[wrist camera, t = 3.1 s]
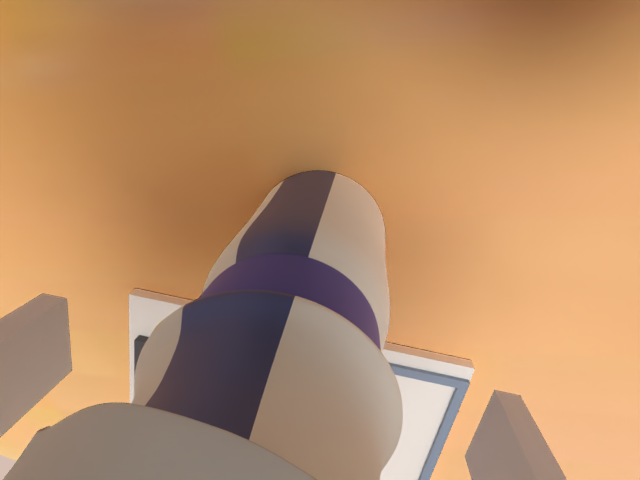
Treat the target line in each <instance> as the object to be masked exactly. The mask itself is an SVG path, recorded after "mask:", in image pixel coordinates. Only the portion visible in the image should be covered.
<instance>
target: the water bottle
mask: <svg viewBox="0 0 640 480" xmlns="http://www.w3.org/2000/svg"><path fill="white" fill-rule="evenodd" d="M389 322H390V297H389V286H388V278H387V270H386V258H385V225H384V220H383V217H382V214H381V211H380V209H379V207H378V205H377V203H376V202H375V200H374V199H373V197H372V196H371V195H370V194H369V193H368V191H367V190H366V189H364V188H363V187H362V186H361V185H360V184H358V183H357V182H355V181H354V180H352V179H350V178H348V177H346V176H344V175H341V174H338V173H334V172H329V171H307V172H302V173H299V174H296V175H293V176H291V177H289V178H287V179H285V180H283V181H282V182H280V183H279V184H278V185H276V186H275V187H274V188H273V189H272V190H271V191H270V192H269V194H268V195H267V196H266V198H265V199H264V200H263V202H262V203H261V205H260V206H259V208H258V209H257V210H256V212H255V213H254V215H253V216H252V217H251V218H250V220H249V221H248V222H247V223H246V225H245V226H244V227H243V228H242V229H241V230H240V232H239V233H238V234H237V235H236V236H235V237H234V238H233V240H232V241H231V242H230V243H229V244H228V246H227V247H226V248H225V249H224V251H223V252H222V253H221V255H220V256H219V258H218V259H217V261H216V262H215V264H214V266H213V267H212V269H211V271H210V273H209V275H208V277H207V280H206V283H205V285H204V288H203V291H202V295H201V296H200V297H199V298H198V299H196V300H194V301H192V302H190V303H188V304H186V305H184V306H182V307H180V308H179V309H177V310H176V311H174V312H173V313H171V314H170V315H169V316H168V317H166V318H165V319H164V320H162V321H161V322H160V323H159V324H158V325H157V326H156V327H155V329H154V330H153V332H152V333H151V335H150V336H149V338H148V339H147V341H146V343H145V344H144V346H143V348H142V350H141V353H140V355H139V358H138V361H137V365H136V370H135V379H134V399H133V401H132V403H103V404H98V405H94V406H90V407H87V408H85V409H82V410H80V411H78V412H76V413H74V414H72V415H70V416H68V417H66V418H65V419H63V420H62V421H60V422H58V423H57V424H55V425H53V426H51V427H50V426H48V427H45V428H43V429H40V430H38V431H37V433H36V434H35V435H34V437H33V438H32V440H31V441H30V443H29V444H28V446H27V447H26V449H25V450H24V452H23V453H22V455H21V456H20V457H19V459H18V460H17V462H16V463H15V464H14V466H13V467H12V469H11V470H10V471H9V472H8V474H7V475H6V476H5V478H4V479H3V480H380V475H381V471H382V470H383V469H384V467H385V466H386V464H387V463H388V461H389V460H390V458H391V457H392V455H393V453H394V451H395V449H396V447H397V444H398V442H399V439H400V435H401V430H402V423H403V406H402V397H401V392H400V388H399V385H398V382H397V379H396V377H395V374H394V372H393V370H392V368H391V366H390V364H389V363H388V361H387V359H386V358H385V356H384V355H383V353H382V351H383V348H384V345H385V342H386V338H387V335H388V330H389Z"/></svg>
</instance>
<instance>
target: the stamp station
mask: <svg viewBox="0 0 640 480" xmlns="http://www.w3.org/2000/svg"><path fill="white" fill-rule="evenodd" d="M192 301H193V300H188V299H183V298H179V297H174V296H169V295H165V294H160V293H156V292H151V291H146V290H142V289H137V288H136V289H134V290H133V291H132V292H131V293H130V294H129V359H130V403H132V401H133V399H134V379H135V370H136V365H137V361H138V358H139V355H140V353H141V350H142V348H143V346H144V344H145V343H146V341H147V339H148V338H149V336H150V335H151V333H152V332H153V330H154V329H155V327H156V326H157V325H158V324H159V323H160V322H161V321H162V320H164V319H165V318H166V317H168V316H169V315H170V314H171V313H173V312H174V311H176V310H177V309H179V308H180V307H182V306H184V305H186V304H188V303H190V302H192ZM382 353H383V355H384V356H385V358H386V359H387V361H388V363H389V364H390V366H391V368H392V370H393V372H394V374H395V377H396V379H397V382H398V385H399V388H400V392H401V397H402V406H403V423H402V430H401V435H400V439H399V442H398V444H397V447H396V449H395V451H394V453H393V455H392V457H391V458H390V460H389V461H388V463H387V464H386V466H385V467H384V469H383V470H382V471H381V475H380V480H430V477H431V475H432V472H433V470H434V468H435V465H436V463H437V460H438V458H439V456H440V453H441V451H442V449H443V446H444V444H445V441H446V439H447V437H448V434H449V432H450V430H451V427H452V425H453V422H454V420H455V418H456V415H457V413H458V410H459V408H460V406H461V403H462V401H463V399H464V396H465V394H466V391H467V389H468V387H469V384H470V380H471V377H472V375H473V372H474V370H475V368H474V365H473V363H472V360H467V359H463V358H458V357H453V356H449V355H444V354H439V353H435V352H430V351H425V350H421V349H416V348H411V347H407V346H402V345H397V344H393V343H388V342H385V345H384V348H383V351H382Z"/></svg>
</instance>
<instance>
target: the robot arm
mask: <svg viewBox="0 0 640 480" xmlns="http://www.w3.org/2000/svg"><path fill="white" fill-rule="evenodd" d="M71 371H72V361H71V347H70V333H69V319H68V305H67V298H63V297H58V296H54V295H49V294H44V293H42V294H41V295H39V296H37V297H36V298H34V299H32V300H31V301H29V302H28V303H26V304H24V305H23V306H21V307H19V308H18V309H16V310H14V311H13V312H11V313H9V314H8V315H6V316H4V317H3V318H1V319H0V437H1V436H2V435H3V434H4V433H6V432H7V431H8V430H9V429H10V428H11V427H12V426H13V425H14V424H15V423H16V422H17V421H18V420H19V419H21V418H22V417H23V416H24V415H25V414H26V413H27V412H28V411H29V410H30V409H31V408H32V407H33V406H34V405H36V404H37V403H38V402H39V401H40V400H41V399H42V398H43V397H44V396H45V395H46V394H47V393H48V392H49V391H50V390H52V389H53V388H54V387H55V386H56V385H57V384H58V383H59V382H60V381H61V380H62V379H63V378H64V377H65V376H67V375H68V374H69V373H70V372H71ZM465 459H466V462H467V465H468V469H469V472H470V475H471V479H472V480H567V479H566V477H565V475H564V474H563V472H562V470H561V468H560V466H559V465H558V463H557V461H556V459H555V457H554V456H553V454H552V452H551V450H550V448H549V447H548V445H547V443H546V441H545V439H544V438H543V436H542V434H541V432H540V430H539V428H538V427H537V425H536V423H535V421H534V419H533V418H532V416H531V414H530V412H529V410H528V409H527V407H526V405H525V403H524V401H523V400H522V398H521V396H520V395H516V394H511V393H507V392H502V391H497V390H494V392H493V394H492V396H491V399H490V401H489V403H488V405H487V408H486V410H485V412H484V414H483V417H482V419H481V421H480V423H479V426H478V428H477V430H476V432H475V434H474V437H473V439H472V441H471V443H470V446H469V448H468V450H467V452H466V455H465Z"/></svg>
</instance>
